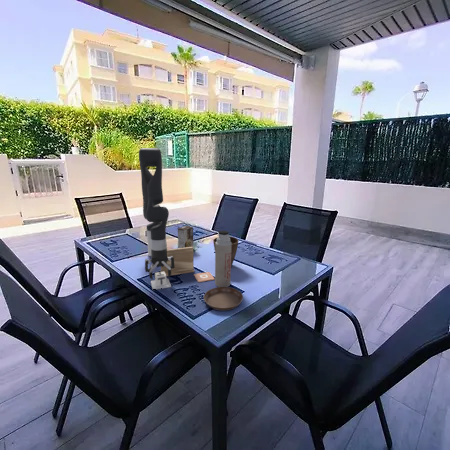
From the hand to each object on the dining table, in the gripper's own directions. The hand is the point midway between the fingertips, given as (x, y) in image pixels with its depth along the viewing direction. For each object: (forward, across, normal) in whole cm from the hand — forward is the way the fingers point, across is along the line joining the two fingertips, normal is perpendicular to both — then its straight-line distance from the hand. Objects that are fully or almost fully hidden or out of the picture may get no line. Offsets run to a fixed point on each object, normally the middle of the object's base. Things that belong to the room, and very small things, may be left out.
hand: (160, 277), depth 131 cm
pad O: (+4, -23, 0) cm, 23 cm away
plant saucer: (+4, -24, +26) cm, 36 cm away
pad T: (+4, 0, 0) cm, 4 cm away
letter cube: (+3, 0, 0) cm, 3 cm away
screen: (+4, -11, -11) cm, 16 cm away
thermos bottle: (+4, -30, +10) cm, 32 cm away
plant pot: (+4, -40, -11) cm, 42 cm away
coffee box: (+4, -24, -45) cm, 51 cm away
